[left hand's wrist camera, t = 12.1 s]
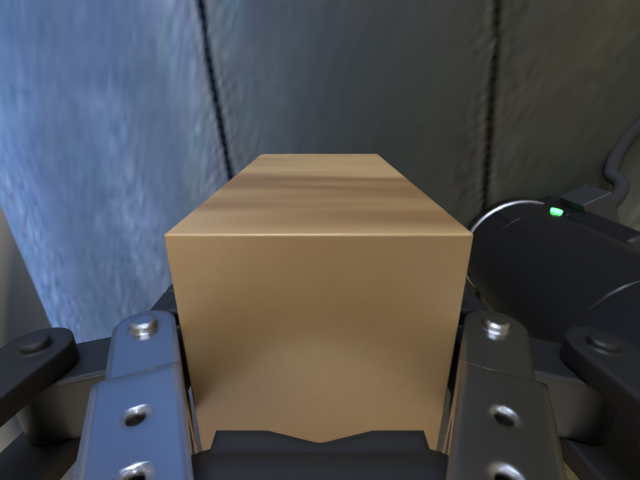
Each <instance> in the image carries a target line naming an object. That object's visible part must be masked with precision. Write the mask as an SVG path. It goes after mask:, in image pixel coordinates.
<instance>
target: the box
mask: <svg viewBox="0 0 640 480" xmlns="http://www.w3.org/2000/svg"><path fill="white" fill-rule="evenodd" d="M472 240H473V234H472V233H471V232H470V231H469V230H468V229H466V228H465V227H464V226H463V225H462V224H460V223H459V222H458V221H457V220H456V219H454V218H453V217H452V216H451V215H450V214H448V213H447V212H446V211H445V210H444V209H442V208H441V207H440V206H439V205H438V204H436V203H435V202H434V201H433V200H432V199H430V198H429V197H428V196H427V195H426V194H424V193H423V192H422V191H421V190H420V189H418V188H417V187H416V186H415V185H414V184H412V183H411V182H410V181H409V180H408V179H406V178H405V177H404V176H403V175H402V174H400V173H399V172H398V171H397V170H396V169H394V168H393V167H392V166H391V165H390V164H388V163H387V162H386V161H385V160H384V159H382V158H381V157H380V156H379V155H378V154H261V155H260V156H259V157H258V158H256V159H255V160H254V161H253V162H252V163H250V164H249V165H248V166H247V167H246V168H244V169H243V170H242V171H241V172H240V173H238V174H237V175H236V176H235V177H234V178H232V179H231V180H230V181H229V182H228V183H226V184H225V185H224V186H223V187H221V188H220V189H219V190H218V191H217V192H215V193H214V194H213V195H212V196H211V197H209V198H208V199H207V200H206V201H205V202H203V203H202V204H201V205H200V206H199V207H197V208H196V209H195V210H194V211H193V212H191V213H190V214H189V215H188V216H187V217H185V218H184V219H183V220H182V221H180V222H179V223H178V224H177V225H176V226H174V227H173V228H172V229H171V230H170V231H168V232H167V233H166V234H165V242H166V248H167V254H168V259H169V265H170V271H171V276H172V282H173V287H174V293H175V299H176V304H177V310H178V315H179V321H180V327H181V332H182V338H183V344H184V349H185V355H186V360H187V366H188V372H189V377H190V383H191V389H192V394H193V400H194V405H195V411H196V417H197V422H198V428H199V434H200V439H201V445H202V450H203V451H204V450H208V449H210V448H211V445H212V442H213V439H214V436H215V433H216V430H268V431H272V432H276V433H280V434H284V435H288V436H292V437H296V438H300V439H304V440H308V441H313V442H318V443H322V442H327V441H332V440H336V439H340V438H344V437H348V436H352V435H356V434H360V433H364V432H368V431H372V430H424V433H425V436H426V439H427V442H428V445H429V448H430V449H432V450H437V444H438V438H439V432H440V426H441V421H442V415H443V409H444V403H445V397H446V392H447V386H448V380H449V374H450V368H451V362H452V357H453V351H454V345H455V339H456V333H457V328H458V322H459V316H460V310H461V304H462V298H463V293H464V287H465V281H466V275H467V269H468V264H469V258H470V252H471V246H472Z"/></svg>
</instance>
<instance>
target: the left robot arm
mask: <svg viewBox="0 0 640 480" xmlns="http://www.w3.org/2000/svg"><path fill="white" fill-rule="evenodd" d="M639 134H640V117H639V118H638V119H637V120H636V121H635V122H634V123H633V124H632V125H631V126H630V127H629V128H628V129H627V131H626V132H625V133H624V134H623V136H622V137H621V138H620V139H619V141H618V142H617V143H616V145H615V146H614V148H613V149H612V151H611V152H610V154H609V156H608V157H607V159H606V162H605V165H604V169H603V176H604V178H605V179H606V180H607V181H608V182H609V183H611V184H612V185H613V190H612V192H610V191H606V190H603V189H600V188H596V187H593V186H590V185H586V184H585V185H583V186H581V187H579V188H577V189H574V190H572V191H570V192H568V193H566V194H564V195H562V196H560V200H559V199H556V198H554V197H551V196H548V197H546V198H544V199H541V200H535V199H530V198H514V199H508V200H504V201H501V202H499V203H496V204H494V205H492V206H490V207H489V208H487V209H486V210H484V211H483V212H481V213H480V214H479V215H478V216H477V217H476V218H475V219H474V220H473V221H472V222H471V223H470V225H469V226H468V228H467V229H468V230H469V231H470V232H471V233H472V234H473V240H472V246H471V252H470V258H469V264H468V269H467V275H466V278H467V279H468V281H469V282H470V283H471V284H472V285H473V286H474V287H475V288H476V289H477V290H478V292H480V293H481V294H482V296H483V297H484V298H485V299H486V300H487V302H488V303H489V304H490V305H491V306H492V307H493V309H494V310H495V311H496V312H495V311H488V310H487V309H486V308H485V306H484V305H483V304H482V303H481V301H480V300H479V299H478V298H477V297H476V295H475V294H474V293H473V292H471V289H470V288H469V287H468V286H467V285H465V287H464V293H463V298H462V304H461V310H460V316H459V322H458V328H457V333H456V339H455V345H454V351H453V357H452V362H451V368H450V374H449V380H448V388H449V390H450V393H451V398H450V403H449V410H448V417H447V424H446V431H445V438H444V445H443V452H439V451H436V450H432V449H430V448H429V445H428V442H427V439H426V436H425V433H424V430H372V431H368V432H364V433H360V434H356V435H352V436H348V437H344V438H340V439H336V440H332V441H327V442H322V443H318V442H313V441H308V440H304V439H300V438H296V437H292V436H288V435H284V434H280V433H276V432H272V431H268V430H216V433H215V436H214V439H213V442H212V445H211V448H210V449H208V450H204V451H201V452H197V445H196V438H195V431H194V424H193V417H192V410H191V403H190V398H189V392H188V390H189V388H190V386H191V383H190V377H189V372H188V366H187V360H186V355H185V349H184V344H183V338H182V332H181V327H180V321H179V315H178V310H177V304H176V299H175V293H174V287H173V283H172V285H171V286H170V287H169V288H168V289H167V292H165V293H164V294H163V295H162V297H161V298H160V299H159V300H158V301H157V303H156V304H155V305H154V306H153V307H152V309H151V310H150V311H145V312H141V313H138V314H135V315H132V316H130V317H128V318H126V319H124V320H123V321H121V322H120V323H119V324H118V325H117V326H116V327H115V328H114V329H113V331H112V336H111V337H109V338H104V339H99V340H94V341H89V342H84V343H78V344H76V342H75V339H74V335H73V333H72V331H70V330H69V329H66V328H58V327H57V328H48V329H42V330H38V331H35V332H32V333H29V334H26V335H24V336H21V337H19V338H17V339H15V340H14V341H12V342H10V343H8V344H7V345H5V346H4V347H2V348H1V349H0V427H1V426H3V425H4V424H5V423H6V422H7V421H8V420H10V419H11V418H12V417H13V416H14V415H15V414H17V417H18V419H19V421H20V424H21V426H22V428H23V430H24V432H22V433H21V434H20V435H19V436H18V437H17V438H16V439H15V440H14V441H13V442H12V443H11V444H9V445H8V446H7V447H6V448H5V449H4V450H3V451H2V452H1V453H0V480H60V479H61V478H62V477H63V476H64V474H65V473H66V472H67V471H68V470H69V469H70V467H71V466H72V465H73V464H74V463H75V461H76V460H77V461H76V466H75V470H74V476H73V480H567V476H566V471H565V466H564V461H565V463H566V464H567V465H568V466H569V467H570V469H571V470H572V471H573V472H574V473H575V475H576V476H577V477H578V478H579V479H580V480H640V232H639V231H637V230H634V229H632V228H629V227H627V226H624V225H622V224H620V222H619V218H618V214H617V210H616V208H617V207H618V206H619V205H620V204H621V203H622V201H623V200H624V199H625V198H626V196H627V194H628V192H629V189H630V183H629V180H628V179H627V177H626V176H624V175H623V174H621V173H620V172H618V171H619V167H620V163H621V161H622V159H623V156H624V155H625V153H626V151H627V149H628V148H629V147H630V145H631V144H632V142H633V141H634V140H635V139H636V138H637V137H638V136H639ZM563 460H564V461H563Z"/></svg>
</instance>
